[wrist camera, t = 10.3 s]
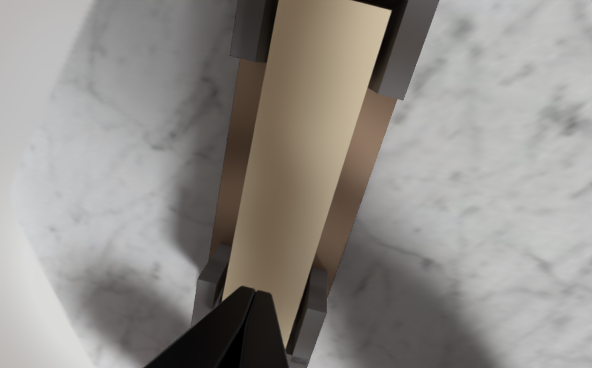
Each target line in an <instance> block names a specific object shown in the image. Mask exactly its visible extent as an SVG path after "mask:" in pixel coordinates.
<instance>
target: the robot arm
mask: <svg viewBox="0 0 592 368" xmlns="http://www.w3.org/2000/svg"><path fill="white" fill-rule="evenodd" d="M143 368H289V364H288V360H287V356H286V351H285V347H284V343H283V339H282V334H281V330H280V326H279V322H278V317H277V313H276V309H275V305H274V300H273V296H272V294H271V293H269V292H265V291H261V290H257V291H256V290H255V289H254V288H250V287H247V286H240V287H239V288H237V289H236V290H235V291H234V292H233V293H232V294H230V295H229V296H228V297H227V298H226V299H224V300H223V301H222V302H221V303H220V304H218V305H217V306H216V307H215V308H214V309H212V310H211V311H210V312H209V313H208V314H207V315H205V316H204V317H203V318H202V319H201V320H199V321H198V322H197V323H196V324H195V325H193V326H192V327H191V328H190V329H189V330H187V331H186V332H185V333H184V334H183V335H181V336H180V337H179V338H178V339H177V340H176V341H174V342H173V343H172V344H171V345H170V346H168V347H167V348H166V349H165V350H164V351H162V352H161V353H160V354H159V355H158V356H156V357H155V358H154V359H153V360H152V361H151V362H149V363H148V364H147V365H146V366H145V367H143Z"/></svg>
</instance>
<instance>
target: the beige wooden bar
mask: <svg viewBox="0 0 592 368" xmlns="http://www.w3.org/2000/svg"><path fill="white" fill-rule="evenodd" d="M390 14H391V10H387V9H383V8H380V7H376V6H372V5H368V4H364V3H360V2H356V1H352V0H279V1H278V7H277V12H276V17H275V23H274V28H273V33H272V38H271V44H270V49H269V54H268V60H267V65H266V70H265V76H264V81H263V86H262V91H261V97H260V102H259V107H258V113H257V118H256V123H255V129H254V134H253V139H252V144H251V150H250V155H249V160H248V166H247V171H246V176H245V182H244V187H243V192H242V197H241V203H240V208H239V213H238V219H237V224H236V229H235V235H234V240H233V245H232V250H231V256H230V261H229V266H228V272H227V277H226V282H225V288H224V293H223V298H222V301H223V300H224V299H226V298H227V297H228V296H229V295H230V294H232V293H233V292H234V291H235V290H236V289H237V288H239V287H240V286H247V287H250V288H254V289H255V290H256V291H257V290H261V291H265V292H269V293H271V294H272V296H273V300H274V305H275V309H276V313H277V317H278V322H279V326H280V330H281V334H282V339H283V343H284V347H285V349H286V346H287V342H288V339H289V336H290V333H291V330H292V326H293V323H294V320H295V317H296V314H297V311H298V307H299V304H300V301H301V298H302V295H303V291H304V288H305V285H306V282H307V279H308V275H309V272H310V269H311V266H312V263H313V260H314V256H315V253H316V250H317V247H318V244H319V240H320V237H321V234H322V231H323V228H324V224H325V221H326V218H327V215H328V212H329V208H330V205H331V202H332V199H333V196H334V193H335V189H336V186H337V183H338V180H339V177H340V173H341V170H342V167H343V164H344V161H345V157H346V154H347V151H348V148H349V145H350V141H351V138H352V135H353V132H354V129H355V126H356V122H357V119H358V116H359V113H360V110H361V106H362V103H363V100H364V97H365V94H366V90H367V87H368V84H369V81H370V78H371V75H372V71H373V68H374V65H375V62H376V59H377V55H378V52H379V49H380V46H381V43H382V39H383V36H384V33H385V30H386V27H387V23H388V20H389V17H390Z"/></svg>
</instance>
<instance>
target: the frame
mask: <svg viewBox="0 0 592 368" xmlns="http://www.w3.org/2000/svg"><path fill="white" fill-rule="evenodd" d="M278 1H279V0H238V2H237V9H236V16H235V23H234V30H233V37H232V44H231V51H230V56H233V57H237V58H240V62H239V68H238V75H237V81H236V88H235V94H234V100H233V107H232V113H231V120H230V126H229V133H228V139H227V145H226V152H225V158H224V165H223V171H222V177H221V184H220V190H219V197H218V203H217V210H216V216H215V222H214V229H213V235H212V242H211V248H210V255H209V261H208V263H207V265H206V267H205V268H204V270H203V271H202V273H201V275H200V276H199V278H198V281H197V288H196V295H195V302H194V309H193V316H192V322H191V327H192V326H193V325H195V324H196V323H197V322H198V321H199V320H201V319H202V318H203V317H204V316H205V315H207V314H208V313H209V312H210V311H211V310H212V309H214V308H215V307H216V306H217V305H218V304H220V303H221V302H222V298H223V293H224V288H225V282H226V277H227V272H228V266H229V261H230V256H231V250H232V245H233V240H234V235H235V229H236V224H237V219H238V213H239V208H240V203H241V197H242V192H243V187H244V182H245V176H246V171H247V166H248V160H249V155H250V150H251V144H252V139H253V134H254V129H255V123H256V118H257V113H258V107H259V102H260V97H261V91H262V86H263V81H264V76H265V70H266V65H267V60H268V54H269V49H270V44H271V38H272V33H273V28H274V23H275V17H276V12H277V7H278ZM352 1H356V2H360V3H364V4H368V5H372V6H376V7H380V8H383V9H387V10H391V14H390V17H389V20H388V23H387V27H386V30H385V33H384V36H383V39H382V43H381V46H380V49H379V52H378V55H377V59H376V62H375V65H374V68H373V71H372V75H371V78H370V81H369V84H368V87H367V90H366V94H365V97H364V100H363V103H362V106H361V110H360V113H359V116H358V119H357V122H356V126H355V129H354V132H353V135H352V138H351V141H350V145H349V148H348V151H347V154H346V157H345V161H344V164H343V167H342V170H341V173H340V177H339V180H338V183H337V186H336V189H335V193H334V196H333V199H332V202H331V205H330V208H329V212H328V215H327V218H326V221H325V224H324V228H323V231H322V234H321V237H320V240H319V244H318V247H317V250H316V253H315V256H314V260H313V263H312V266H311V269H310V272H309V275H308V279H307V282H306V285H305V288H304V291H303V295H302V298H301V301H300V304H299V307H298V311H297V314H296V317H295V320H294V323H293V326H292V330H291V333H290V336H289V339H288V342H287V346H286V349H285V351H286V356H287V360H288V364H289V368H307V366H308V363H309V361H310V358H311V355H312V352H313V350H314V347H315V344H316V341H317V338H318V336H319V333H320V330H321V327H322V325H323V322H324V319H325V316H326V313H327V297H328V294H329V291H330V289H331V286H332V283H333V280H334V277H335V274H336V272H337V269H338V266H339V263H340V260H341V257H342V255H343V252H344V249H345V246H346V243H347V240H348V238H349V235H350V232H351V229H352V226H353V223H354V221H355V218H356V215H357V212H358V209H359V206H360V204H361V201H362V198H363V195H364V192H365V189H366V186H367V184H368V181H369V178H370V175H371V172H372V169H373V167H374V164H375V161H376V158H377V155H378V152H379V150H380V147H381V144H382V141H383V138H384V135H385V133H386V130H387V127H388V124H389V121H390V118H391V116H392V113H393V110H394V107H395V104H396V101H397V99H400V100H404V97H405V94H406V91H407V89H408V86H409V83H410V80H411V77H412V75H413V72H414V69H415V66H416V64H417V61H418V58H419V55H420V52H421V50H422V47H423V44H424V41H425V39H426V36H427V33H428V30H429V28H430V25H431V22H432V19H433V16H434V14H435V11H436V8H437V5H438V3H439V0H352Z"/></svg>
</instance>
